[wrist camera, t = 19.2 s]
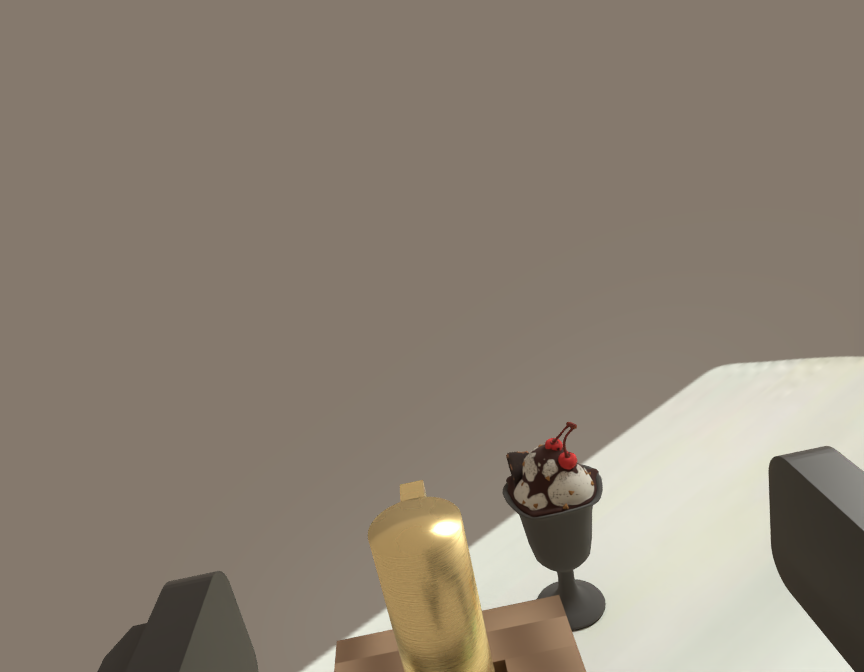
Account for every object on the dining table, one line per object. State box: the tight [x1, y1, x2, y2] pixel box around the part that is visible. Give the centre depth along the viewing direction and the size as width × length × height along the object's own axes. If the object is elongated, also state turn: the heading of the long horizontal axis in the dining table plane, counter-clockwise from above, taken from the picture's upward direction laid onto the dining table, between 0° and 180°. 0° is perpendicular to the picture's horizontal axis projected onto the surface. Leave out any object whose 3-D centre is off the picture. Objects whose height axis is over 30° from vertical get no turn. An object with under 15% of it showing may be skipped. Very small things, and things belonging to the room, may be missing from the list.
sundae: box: [503, 422, 605, 630], centre depth 47 cm, size 7×7×15 cm
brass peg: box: [368, 480, 495, 672], centre depth 36 cm, size 4×6×18 cm
